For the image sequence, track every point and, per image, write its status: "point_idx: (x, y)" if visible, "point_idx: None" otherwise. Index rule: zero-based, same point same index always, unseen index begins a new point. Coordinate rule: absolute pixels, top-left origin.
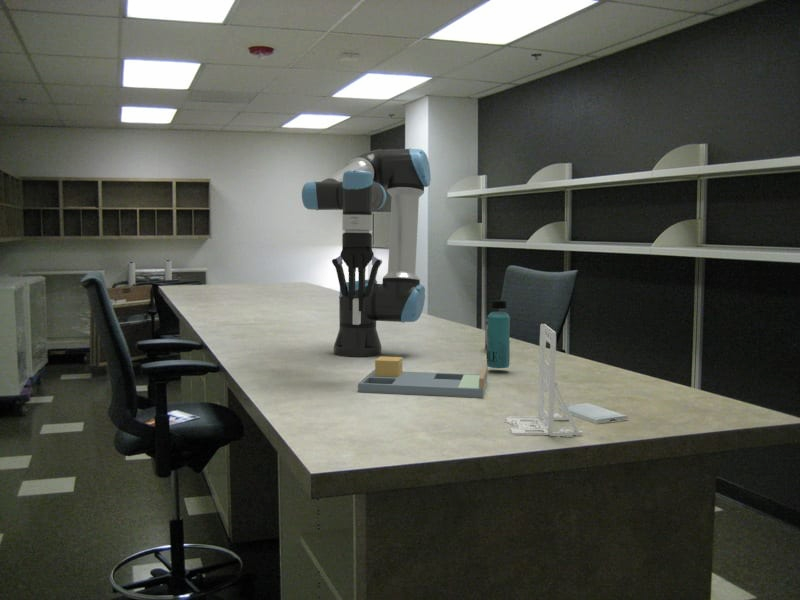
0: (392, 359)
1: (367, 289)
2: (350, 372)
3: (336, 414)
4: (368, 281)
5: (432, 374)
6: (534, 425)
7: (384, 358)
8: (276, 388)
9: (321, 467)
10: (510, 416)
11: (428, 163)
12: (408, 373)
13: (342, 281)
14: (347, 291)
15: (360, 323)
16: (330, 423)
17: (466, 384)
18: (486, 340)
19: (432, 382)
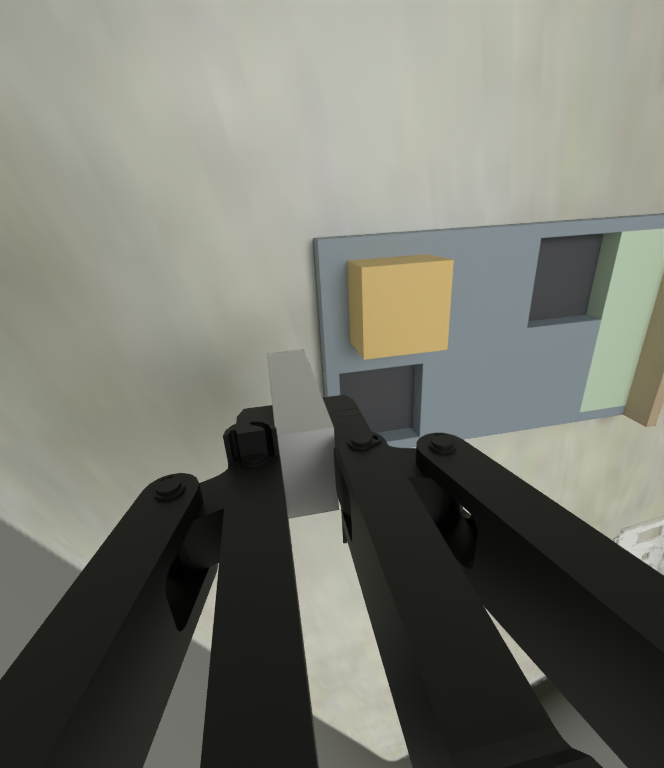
0: (422, 322)
1: (457, 560)
2: (187, 147)
3: (343, 610)
4: (522, 649)
5: (526, 259)
6: (649, 551)
7: (390, 312)
8: (90, 486)
9: (394, 752)
10: (629, 531)
11: None
12: None
13: (139, 731)
14: (195, 523)
15: (303, 352)
16: (351, 649)
17: (604, 374)
18: None
19: (522, 379)
